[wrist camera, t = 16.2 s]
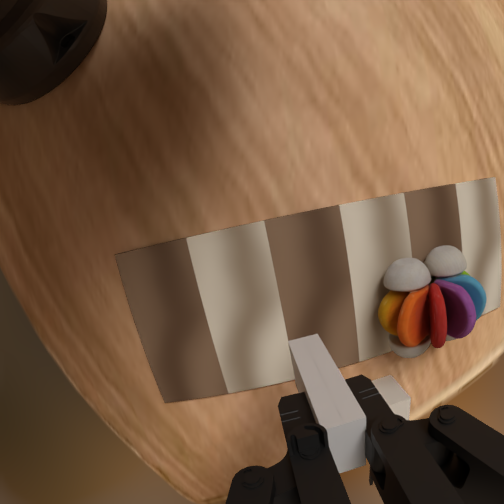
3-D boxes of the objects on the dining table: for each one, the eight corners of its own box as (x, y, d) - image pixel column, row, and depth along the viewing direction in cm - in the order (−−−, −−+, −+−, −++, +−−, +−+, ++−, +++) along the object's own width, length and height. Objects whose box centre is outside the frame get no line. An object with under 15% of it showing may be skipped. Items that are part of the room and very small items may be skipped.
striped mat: (165, 400, 27) (164, 402, 27) (116, 254, 25) (114, 255, 24) (498, 305, 28) (500, 306, 27) (493, 177, 25) (495, 177, 25)
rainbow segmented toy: (364, 264, 26) (407, 288, 18) (453, 237, 26) (506, 249, 19) (375, 352, 27) (411, 394, 20) (458, 319, 27) (503, 347, 20)
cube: (349, 420, 29) (363, 448, 24) (348, 387, 28) (364, 414, 24) (389, 408, 29) (407, 432, 24) (390, 374, 28) (410, 397, 24)
